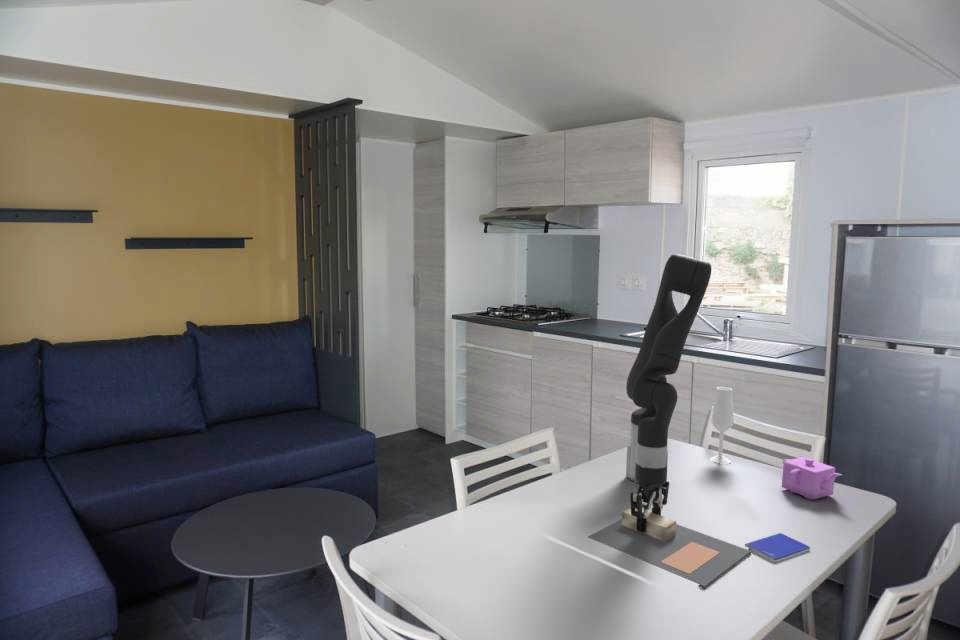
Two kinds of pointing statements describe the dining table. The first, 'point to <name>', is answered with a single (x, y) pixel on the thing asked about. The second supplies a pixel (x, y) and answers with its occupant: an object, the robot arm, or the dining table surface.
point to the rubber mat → (676, 551)
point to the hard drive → (777, 547)
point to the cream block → (651, 525)
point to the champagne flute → (722, 418)
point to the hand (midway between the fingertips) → (648, 526)
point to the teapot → (808, 477)
